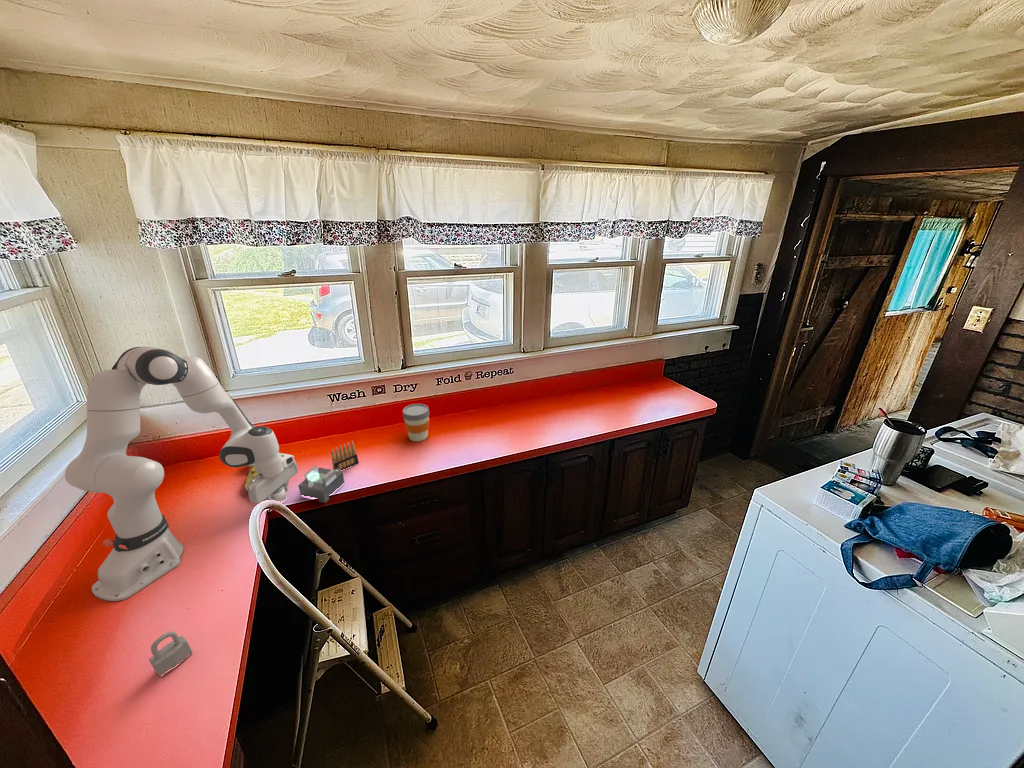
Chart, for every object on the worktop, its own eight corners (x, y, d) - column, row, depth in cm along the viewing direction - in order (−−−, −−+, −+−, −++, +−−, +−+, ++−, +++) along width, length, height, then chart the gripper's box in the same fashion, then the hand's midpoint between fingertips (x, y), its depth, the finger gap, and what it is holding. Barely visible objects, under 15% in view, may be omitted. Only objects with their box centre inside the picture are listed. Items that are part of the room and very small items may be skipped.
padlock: (161, 679, 100) (147, 653, 96) (154, 670, 102) (139, 644, 98) (194, 654, 106) (181, 628, 101) (186, 646, 108) (174, 620, 103)
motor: (325, 502, 158) (320, 484, 154) (301, 497, 161) (296, 478, 157) (350, 478, 172) (347, 460, 168) (328, 473, 175) (324, 456, 171)
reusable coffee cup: (405, 444, 196) (402, 417, 190) (405, 431, 207) (402, 405, 201) (432, 441, 198) (429, 414, 192) (430, 428, 210) (428, 402, 203)
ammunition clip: (335, 474, 175) (330, 450, 170) (333, 472, 176) (328, 448, 171) (359, 463, 182) (354, 440, 177) (356, 461, 183) (352, 438, 178)
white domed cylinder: (280, 506, 156) (276, 494, 154) (269, 504, 157) (265, 491, 155) (290, 498, 161) (286, 485, 158) (279, 495, 162) (276, 483, 159)
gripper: (253, 485, 142) (263, 516, 148) (297, 453, 160) (304, 482, 166) (239, 482, 144) (249, 513, 150) (283, 451, 162) (291, 479, 168)
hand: (278, 496), depth 158 cm, fingers closed on white domed cylinder, 5 cm apart
